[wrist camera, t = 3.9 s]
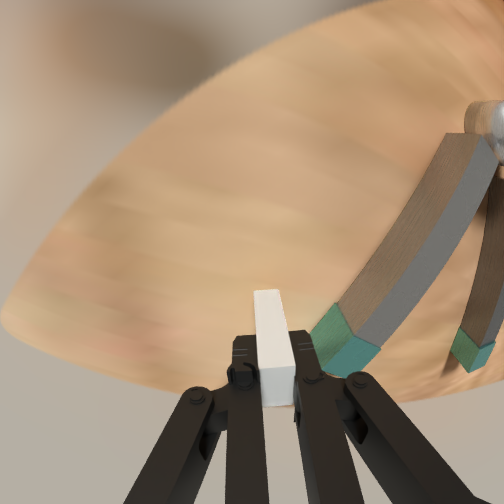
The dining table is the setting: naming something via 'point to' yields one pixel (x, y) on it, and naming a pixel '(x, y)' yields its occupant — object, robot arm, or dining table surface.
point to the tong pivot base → (485, 250)
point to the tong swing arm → (407, 256)
